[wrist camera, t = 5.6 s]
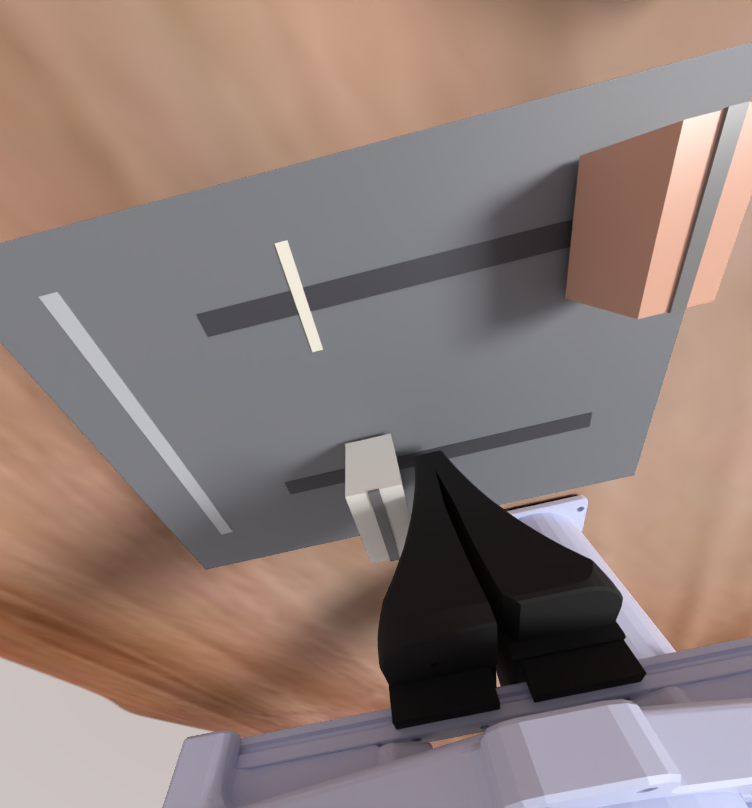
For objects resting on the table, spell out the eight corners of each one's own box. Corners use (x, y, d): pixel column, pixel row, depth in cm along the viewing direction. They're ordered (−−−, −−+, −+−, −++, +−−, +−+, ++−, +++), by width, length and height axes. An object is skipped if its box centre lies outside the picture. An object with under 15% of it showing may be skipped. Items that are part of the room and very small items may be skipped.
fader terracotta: (621, 285, 10) (716, 302, 8) (564, 299, 10) (640, 320, 8) (650, 136, 8) (792, 89, 6) (579, 154, 8) (687, 117, 6)
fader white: (406, 497, 15) (419, 555, 12) (367, 506, 15) (371, 565, 12) (390, 433, 13) (402, 485, 10) (345, 443, 13) (345, 498, 10)
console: (593, 441, 18) (634, 475, 16) (224, 524, 19) (205, 570, 17) (662, 87, 10) (771, 36, 8) (26, 256, 11) (-74, 262, 9)
